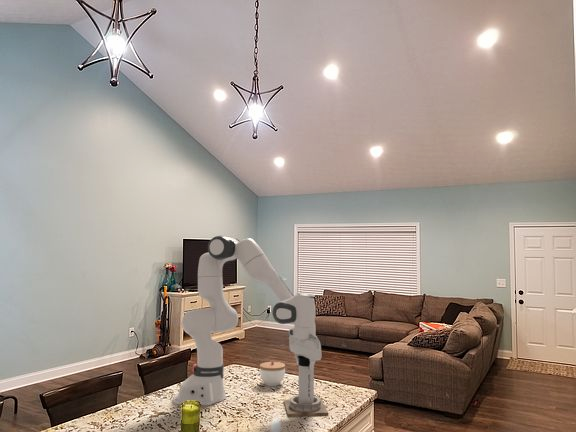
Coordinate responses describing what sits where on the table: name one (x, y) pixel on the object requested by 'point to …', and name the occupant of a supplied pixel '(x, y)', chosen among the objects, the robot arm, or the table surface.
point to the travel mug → (305, 381)
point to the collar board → (304, 407)
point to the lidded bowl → (272, 373)
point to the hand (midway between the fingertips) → (305, 367)
